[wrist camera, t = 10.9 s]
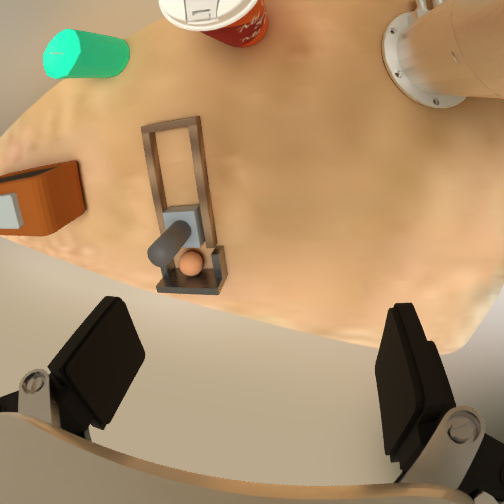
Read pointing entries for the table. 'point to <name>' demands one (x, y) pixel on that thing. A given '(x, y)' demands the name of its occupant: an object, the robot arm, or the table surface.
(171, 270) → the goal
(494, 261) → the table surface
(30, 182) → the alarm clock
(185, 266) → the ball
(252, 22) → the coffee cup
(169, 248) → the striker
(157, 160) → the frame
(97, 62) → the candle
